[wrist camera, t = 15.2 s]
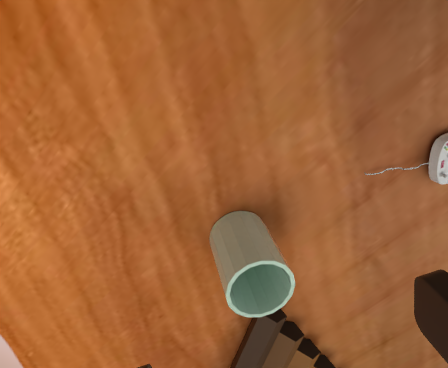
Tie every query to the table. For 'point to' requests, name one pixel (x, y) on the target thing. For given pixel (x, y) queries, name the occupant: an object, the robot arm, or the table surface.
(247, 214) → the cup
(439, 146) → the game controller
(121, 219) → the table surface
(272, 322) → the pan flute
